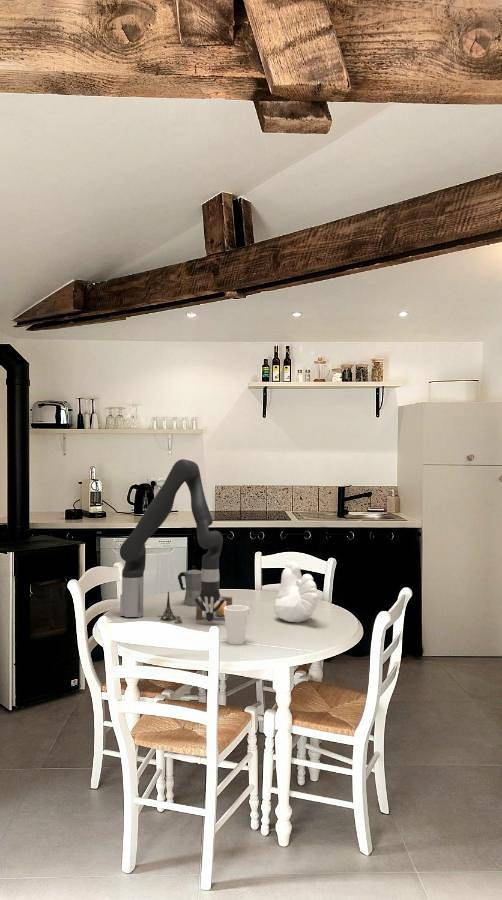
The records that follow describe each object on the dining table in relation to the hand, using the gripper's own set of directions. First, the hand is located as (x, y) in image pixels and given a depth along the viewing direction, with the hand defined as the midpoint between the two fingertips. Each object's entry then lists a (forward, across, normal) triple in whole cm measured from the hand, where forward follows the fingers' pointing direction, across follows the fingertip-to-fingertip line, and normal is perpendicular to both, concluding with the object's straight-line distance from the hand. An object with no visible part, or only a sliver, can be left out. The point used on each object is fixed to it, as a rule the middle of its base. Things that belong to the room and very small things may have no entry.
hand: (209, 621), depth 297 cm
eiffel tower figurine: (+2, -19, +6) cm, 20 cm away
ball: (-2, +2, +16) cm, 16 cm away
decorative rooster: (+2, +35, +11) cm, 37 cm away
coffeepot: (+2, -16, +36) cm, 39 cm away
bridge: (+2, 0, +9) cm, 9 cm away
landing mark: (+2, 0, +17) cm, 17 cm away
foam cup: (+2, +15, -24) cm, 28 cm away
